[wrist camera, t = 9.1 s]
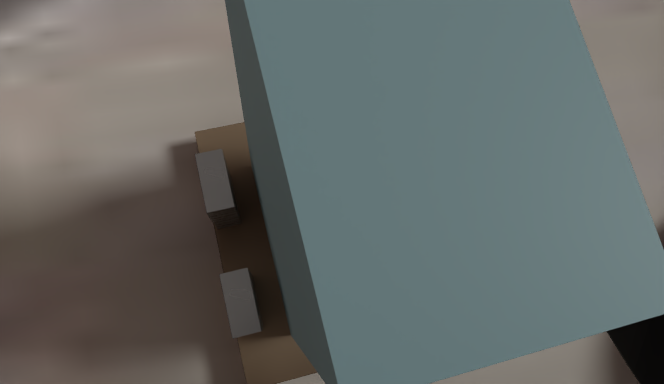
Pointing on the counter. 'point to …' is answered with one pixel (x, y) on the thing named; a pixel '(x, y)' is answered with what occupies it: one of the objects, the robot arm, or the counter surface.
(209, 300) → the counter surface
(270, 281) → the brown base with posts
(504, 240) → the door
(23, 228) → the counter surface
